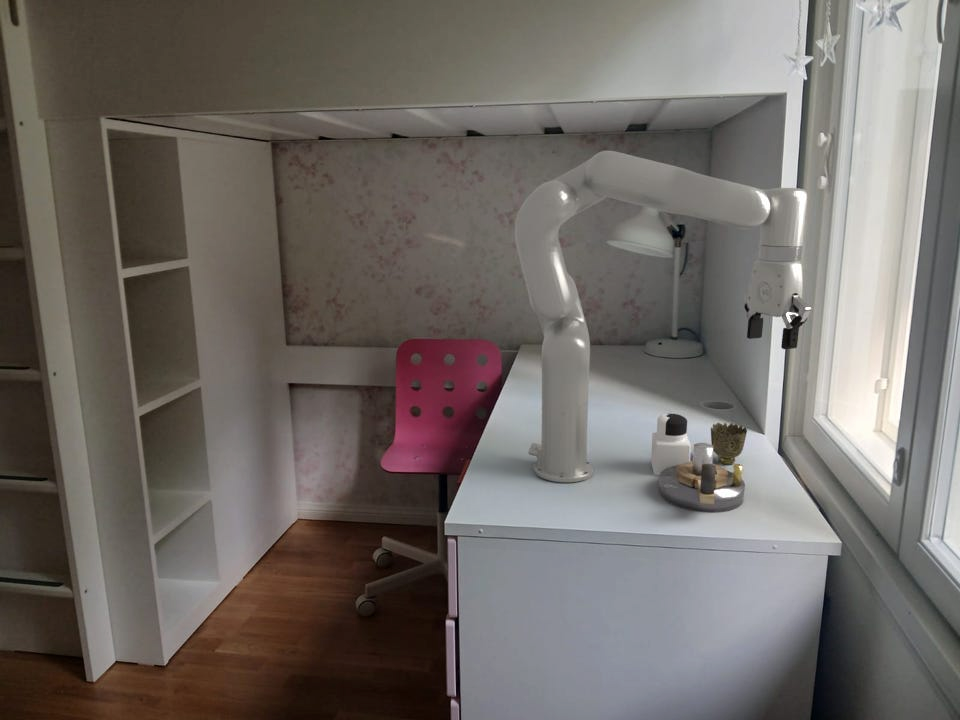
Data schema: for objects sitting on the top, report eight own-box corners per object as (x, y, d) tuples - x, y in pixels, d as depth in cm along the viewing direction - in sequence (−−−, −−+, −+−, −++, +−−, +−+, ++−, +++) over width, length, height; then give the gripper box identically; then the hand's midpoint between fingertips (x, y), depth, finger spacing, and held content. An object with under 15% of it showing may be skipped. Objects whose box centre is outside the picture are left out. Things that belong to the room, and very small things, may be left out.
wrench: (675, 467, 147) (676, 436, 145) (724, 470, 145) (726, 439, 143) (680, 501, 131) (682, 467, 130) (734, 505, 130) (737, 471, 128)
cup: (716, 453, 163) (718, 419, 161) (749, 461, 158) (752, 426, 156) (702, 463, 157) (705, 428, 155) (736, 471, 153) (739, 435, 151)
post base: (643, 496, 142) (645, 447, 139) (681, 471, 153) (684, 426, 151) (722, 520, 131) (726, 468, 129) (756, 492, 143) (761, 444, 140)
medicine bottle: (684, 464, 157) (687, 411, 154) (689, 477, 150) (692, 422, 147) (650, 462, 158) (653, 410, 155) (653, 475, 151) (656, 421, 148)
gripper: (733, 251, 144) (726, 335, 148) (797, 260, 128) (787, 354, 132) (764, 250, 146) (756, 333, 150) (830, 258, 130) (820, 351, 135)
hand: (771, 343), depth 141 cm, fingers open, 9 cm apart
